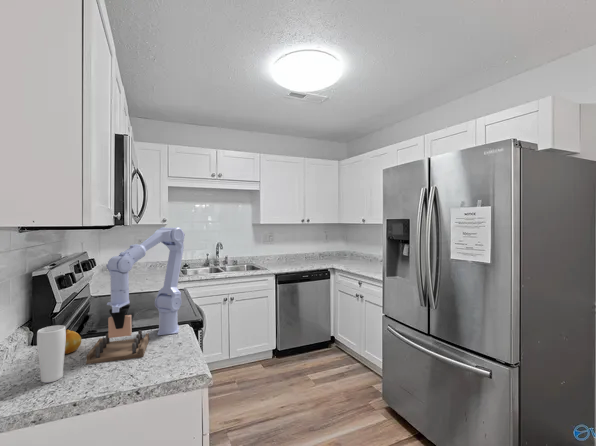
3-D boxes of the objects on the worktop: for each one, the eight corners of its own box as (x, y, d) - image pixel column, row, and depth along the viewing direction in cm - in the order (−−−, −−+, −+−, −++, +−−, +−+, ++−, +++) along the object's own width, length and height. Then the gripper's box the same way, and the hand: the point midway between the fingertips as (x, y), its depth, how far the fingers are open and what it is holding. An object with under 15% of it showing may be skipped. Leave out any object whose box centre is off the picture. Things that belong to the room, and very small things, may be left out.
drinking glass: (50, 386, 90) (49, 333, 90) (31, 383, 92) (30, 332, 92) (71, 374, 97) (71, 325, 97) (53, 372, 98) (53, 324, 98)
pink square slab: (109, 336, 114) (109, 316, 114) (131, 333, 116) (131, 314, 116) (108, 338, 112) (108, 318, 112) (130, 335, 114) (130, 316, 114)
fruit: (43, 350, 110) (56, 329, 111) (58, 343, 118) (71, 324, 119) (64, 362, 110) (77, 341, 111) (78, 354, 118) (90, 334, 119)
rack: (99, 345, 119) (99, 333, 119) (149, 340, 125) (149, 328, 125) (86, 364, 104) (85, 350, 104) (143, 356, 109) (143, 343, 109)
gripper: (112, 286, 120) (112, 322, 120) (101, 294, 106) (102, 335, 106) (132, 285, 122) (133, 320, 122) (125, 293, 108) (125, 332, 108)
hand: (120, 327), depth 114 cm, fingers closed on pink square slab, 2 cm apart
